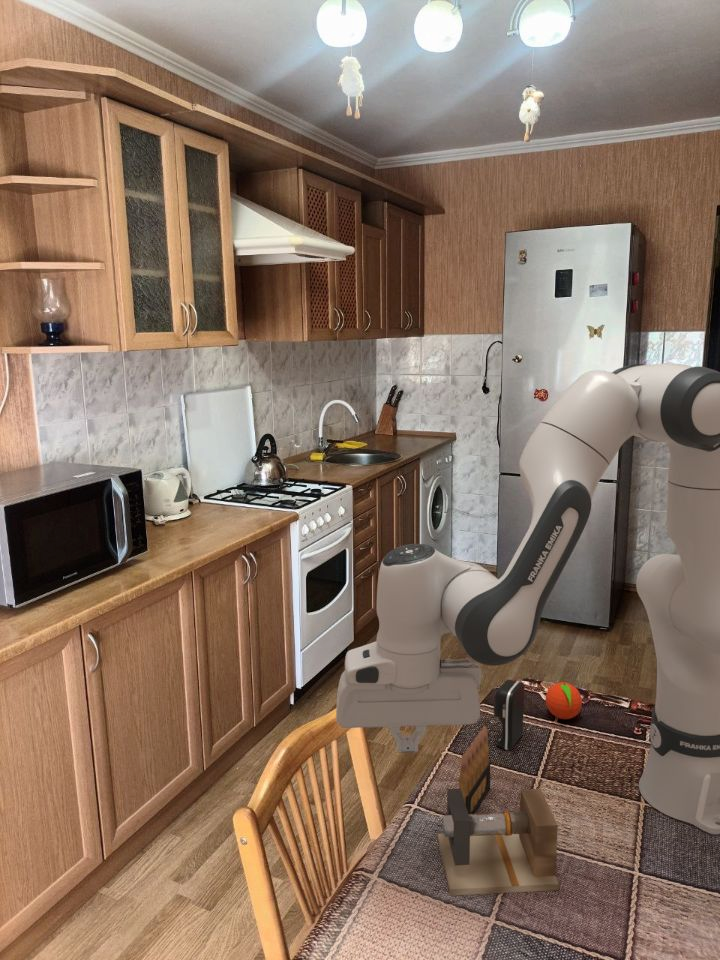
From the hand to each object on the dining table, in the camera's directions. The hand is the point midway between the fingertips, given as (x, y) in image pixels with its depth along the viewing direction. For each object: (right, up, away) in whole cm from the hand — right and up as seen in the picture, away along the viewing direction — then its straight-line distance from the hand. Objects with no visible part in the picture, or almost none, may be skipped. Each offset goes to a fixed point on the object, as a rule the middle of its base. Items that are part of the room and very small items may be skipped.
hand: (407, 750), depth 103 cm
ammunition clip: (+12, -14, +14) cm, 23 cm away
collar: (+7, -14, 0) cm, 16 cm away
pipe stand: (+13, -17, +1) cm, 21 cm away
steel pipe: (+12, -12, 0) cm, 17 cm away
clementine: (+33, -9, +39) cm, 52 cm away
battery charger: (+21, -10, +32) cm, 39 cm away
